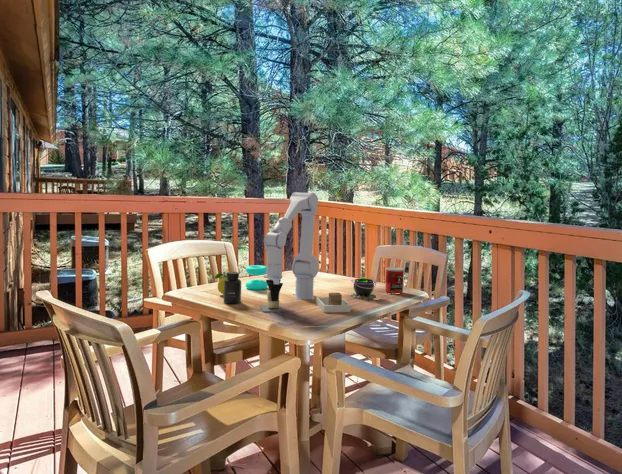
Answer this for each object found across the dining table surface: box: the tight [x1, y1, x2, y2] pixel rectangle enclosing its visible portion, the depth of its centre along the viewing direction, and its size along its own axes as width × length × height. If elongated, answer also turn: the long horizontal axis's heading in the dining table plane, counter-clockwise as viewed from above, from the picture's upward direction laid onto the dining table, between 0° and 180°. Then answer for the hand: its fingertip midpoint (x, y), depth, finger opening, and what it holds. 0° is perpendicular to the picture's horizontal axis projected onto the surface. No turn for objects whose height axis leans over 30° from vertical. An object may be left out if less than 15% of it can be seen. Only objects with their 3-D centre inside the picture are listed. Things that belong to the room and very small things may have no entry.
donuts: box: [245, 264, 268, 291], centre depth 227 cm, size 10×10×10 cm
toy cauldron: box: [350, 274, 378, 301], centre depth 213 cm, size 15×15×11 cm
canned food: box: [384, 266, 404, 294], centre depth 224 cm, size 8×8×11 cm
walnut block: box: [328, 292, 343, 305], centre depth 189 cm, size 4×4×6 cm
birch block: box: [266, 289, 280, 308], centre depth 190 cm, size 4×4×6 cm
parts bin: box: [315, 296, 352, 313], centre depth 193 cm, size 14×10×3 cm
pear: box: [214, 271, 227, 296], centre depth 212 cm, size 7×6×10 cm
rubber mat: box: [260, 304, 283, 313], centre depth 190 cm, size 9×9×1 cm
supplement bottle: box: [223, 271, 242, 305], centre depth 199 cm, size 7×7×12 cm
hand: (273, 299), depth 190 cm, fingers open, 4 cm apart
